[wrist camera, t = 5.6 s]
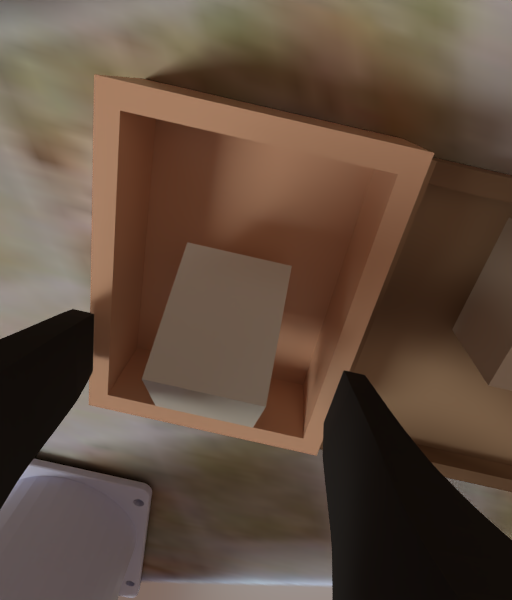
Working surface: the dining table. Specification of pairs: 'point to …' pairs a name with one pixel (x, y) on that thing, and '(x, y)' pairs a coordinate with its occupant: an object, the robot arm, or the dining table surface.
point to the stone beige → (491, 316)
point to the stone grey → (218, 336)
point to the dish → (240, 237)
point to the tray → (442, 327)
